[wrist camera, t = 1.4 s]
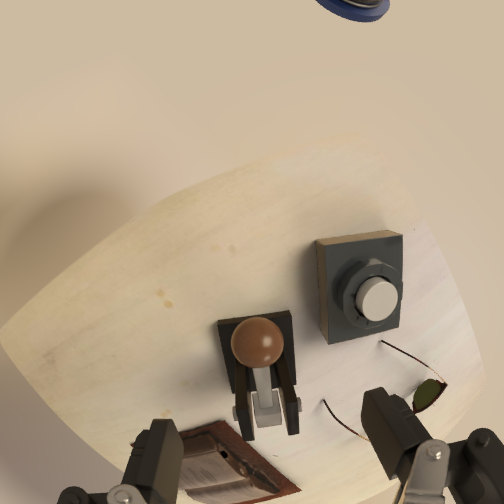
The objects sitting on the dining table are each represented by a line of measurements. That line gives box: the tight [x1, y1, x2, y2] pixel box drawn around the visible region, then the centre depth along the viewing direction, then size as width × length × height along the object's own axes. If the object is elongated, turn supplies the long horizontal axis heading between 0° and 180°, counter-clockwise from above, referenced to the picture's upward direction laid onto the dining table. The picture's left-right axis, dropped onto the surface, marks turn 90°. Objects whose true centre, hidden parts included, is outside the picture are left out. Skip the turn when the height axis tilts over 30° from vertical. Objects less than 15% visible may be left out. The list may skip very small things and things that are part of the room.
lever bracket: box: [217, 310, 302, 441], centre depth 26 cm, size 10×8×12 cm
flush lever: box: [231, 317, 284, 428], centre depth 19 cm, size 13×3×3 cm, turn 7°
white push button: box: [356, 277, 398, 321], centre depth 25 cm, size 4×4×2 cm
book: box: [131, 420, 302, 504], centre depth 35 cm, size 20×28×4 cm
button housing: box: [316, 230, 403, 345], centre depth 28 cm, size 11×9×5 cm
